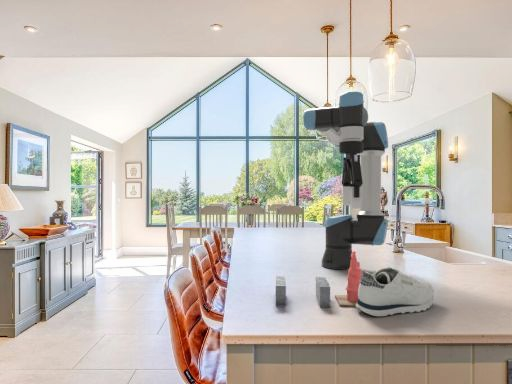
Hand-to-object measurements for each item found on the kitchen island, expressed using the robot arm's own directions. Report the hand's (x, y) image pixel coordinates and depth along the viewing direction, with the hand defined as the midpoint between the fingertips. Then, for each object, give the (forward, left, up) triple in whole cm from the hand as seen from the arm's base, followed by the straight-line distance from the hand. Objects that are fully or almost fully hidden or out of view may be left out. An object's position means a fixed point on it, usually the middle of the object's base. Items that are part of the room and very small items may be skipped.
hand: (351, 207), depth 119 cm
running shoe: (+11, +12, -29) cm, 33 cm away
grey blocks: (+6, -16, -29) cm, 34 cm away
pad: (+6, 0, -29) cm, 30 cm away
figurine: (+6, 0, -29) cm, 29 cm away
